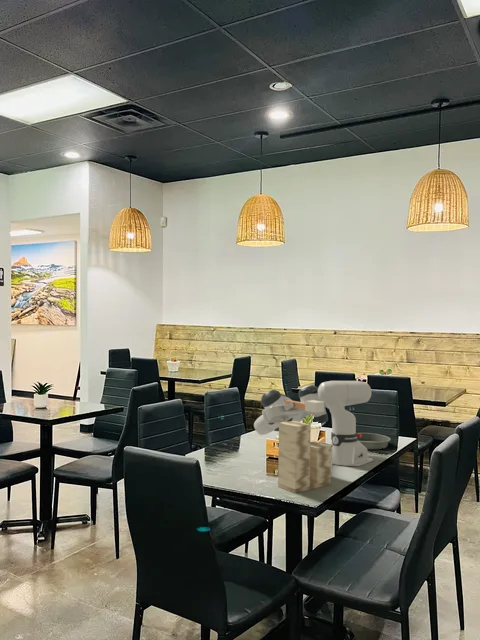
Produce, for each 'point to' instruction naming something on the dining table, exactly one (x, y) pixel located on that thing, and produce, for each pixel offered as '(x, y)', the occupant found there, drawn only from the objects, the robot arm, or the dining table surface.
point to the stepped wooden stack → (302, 459)
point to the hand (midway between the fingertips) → (296, 403)
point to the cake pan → (374, 440)
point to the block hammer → (308, 405)
